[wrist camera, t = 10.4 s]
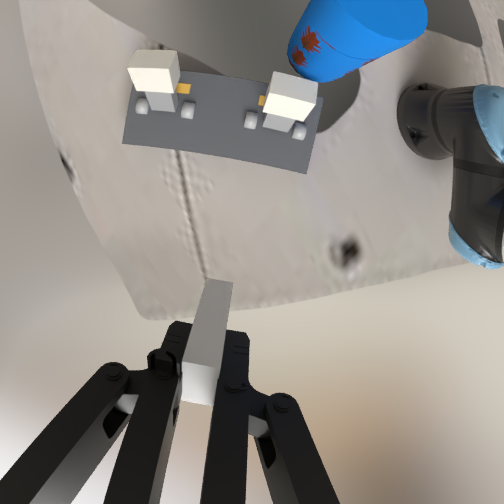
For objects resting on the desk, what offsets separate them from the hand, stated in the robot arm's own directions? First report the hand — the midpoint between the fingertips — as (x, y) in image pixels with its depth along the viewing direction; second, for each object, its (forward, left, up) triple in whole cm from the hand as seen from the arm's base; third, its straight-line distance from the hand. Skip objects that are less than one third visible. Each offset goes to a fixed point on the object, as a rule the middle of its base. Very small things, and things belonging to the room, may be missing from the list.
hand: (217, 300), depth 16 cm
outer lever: (+12, -12, -27) cm, 32 cm away
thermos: (-9, -27, -33) cm, 44 cm away
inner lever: (-4, -12, -27) cm, 30 cm away
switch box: (+4, -12, -33) cm, 35 cm away
